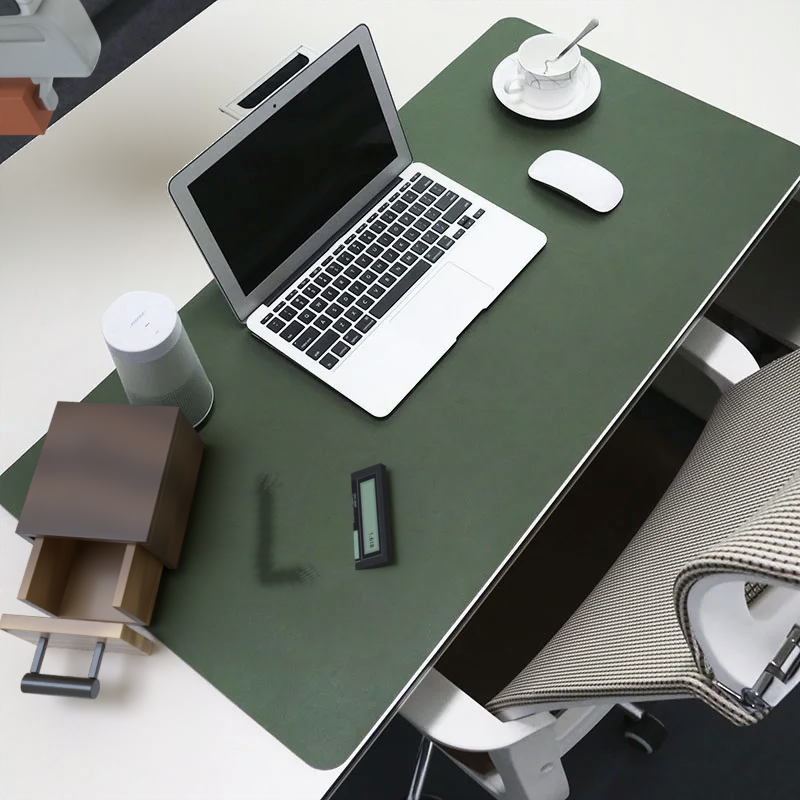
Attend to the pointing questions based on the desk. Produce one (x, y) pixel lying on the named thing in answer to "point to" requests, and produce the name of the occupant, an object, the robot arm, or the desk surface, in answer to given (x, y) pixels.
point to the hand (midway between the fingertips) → (21, 106)
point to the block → (21, 108)
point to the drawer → (84, 607)
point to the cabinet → (115, 477)
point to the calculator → (371, 518)
